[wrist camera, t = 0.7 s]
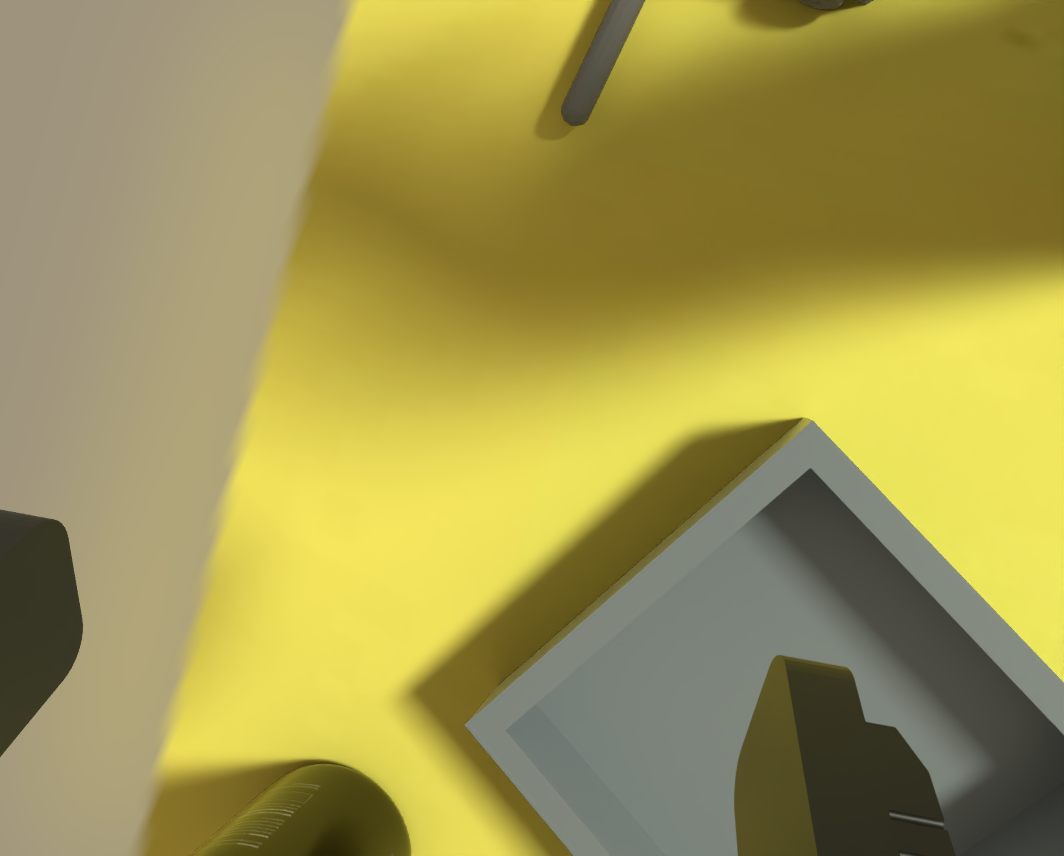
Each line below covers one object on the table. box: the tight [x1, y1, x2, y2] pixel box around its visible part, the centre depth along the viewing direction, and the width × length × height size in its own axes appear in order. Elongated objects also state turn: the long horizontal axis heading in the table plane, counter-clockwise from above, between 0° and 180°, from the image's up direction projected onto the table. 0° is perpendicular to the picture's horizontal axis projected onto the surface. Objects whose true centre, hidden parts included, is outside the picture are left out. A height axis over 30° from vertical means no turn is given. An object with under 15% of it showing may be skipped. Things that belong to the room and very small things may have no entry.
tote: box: [465, 418, 1064, 856], centre depth 29 cm, size 15×15×4 cm
